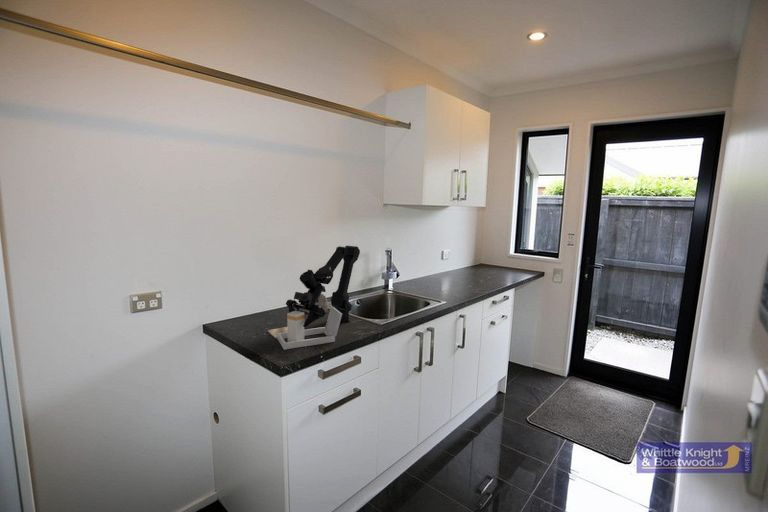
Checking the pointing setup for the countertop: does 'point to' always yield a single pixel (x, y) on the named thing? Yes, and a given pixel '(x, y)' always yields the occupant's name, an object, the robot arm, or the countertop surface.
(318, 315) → the robot arm
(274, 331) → the pad
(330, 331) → the grey angled frame
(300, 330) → the module
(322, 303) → the pumice stone
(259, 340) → the countertop surface
